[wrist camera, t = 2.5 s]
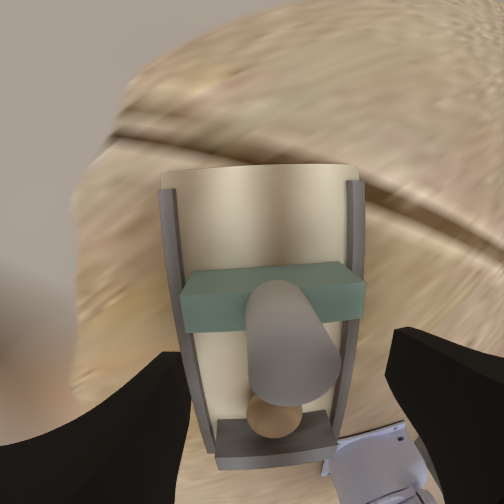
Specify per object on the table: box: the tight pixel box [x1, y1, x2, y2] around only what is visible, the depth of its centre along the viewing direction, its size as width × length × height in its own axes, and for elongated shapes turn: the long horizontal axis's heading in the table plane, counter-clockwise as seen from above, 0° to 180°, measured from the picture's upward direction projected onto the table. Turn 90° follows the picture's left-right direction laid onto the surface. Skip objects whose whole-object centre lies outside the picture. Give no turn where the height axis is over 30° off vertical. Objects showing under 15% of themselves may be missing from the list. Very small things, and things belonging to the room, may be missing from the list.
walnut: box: [246, 394, 302, 438], centre depth 17 cm, size 4×4×4 cm
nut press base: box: [158, 164, 365, 470], centre depth 17 cm, size 12×24×6 cm, turn 3°
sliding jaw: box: [180, 262, 365, 407], centre depth 12 cm, size 9×3×9 cm, turn 93°
